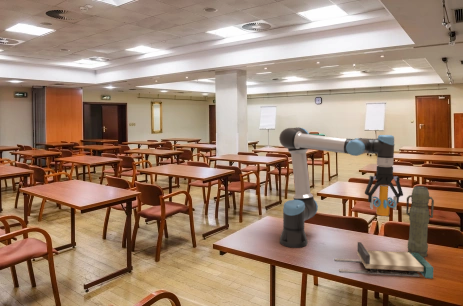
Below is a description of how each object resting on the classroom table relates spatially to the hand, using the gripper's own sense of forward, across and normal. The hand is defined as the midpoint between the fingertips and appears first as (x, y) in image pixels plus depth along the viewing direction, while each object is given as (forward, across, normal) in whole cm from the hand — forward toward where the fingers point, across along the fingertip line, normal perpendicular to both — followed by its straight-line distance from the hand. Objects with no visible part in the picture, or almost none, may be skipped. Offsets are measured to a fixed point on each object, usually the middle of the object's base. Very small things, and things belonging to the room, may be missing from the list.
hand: (382, 209), depth 168 cm
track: (+24, -5, -17) cm, 30 cm away
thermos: (+24, +18, +2) cm, 30 cm away
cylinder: (+3, 0, 0) cm, 3 cm away
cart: (+24, -2, -17) cm, 29 cm away
